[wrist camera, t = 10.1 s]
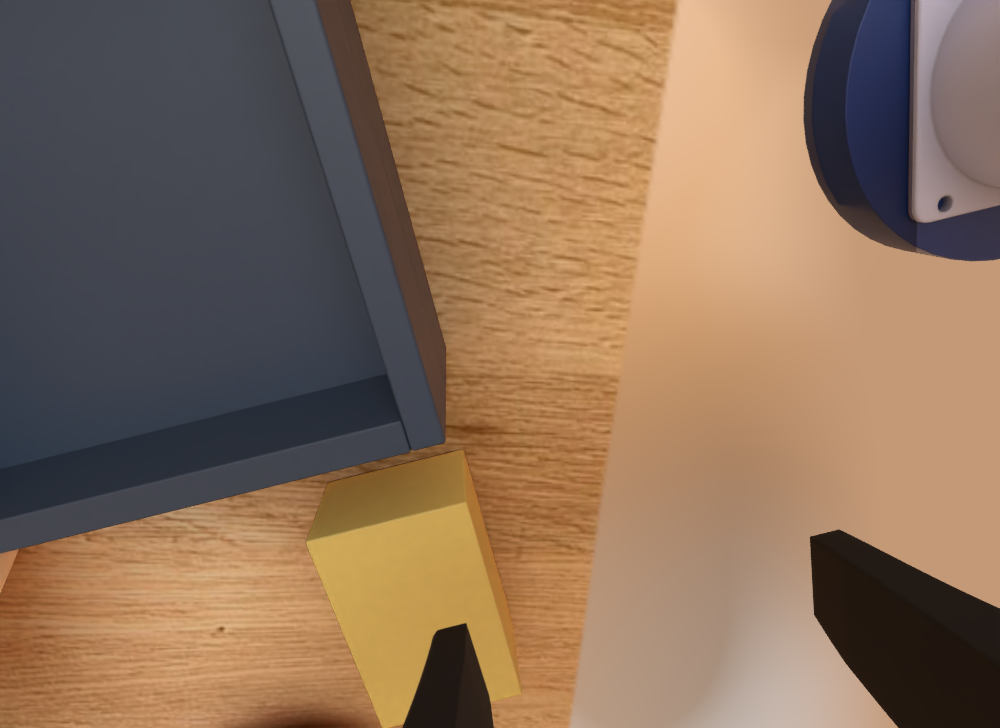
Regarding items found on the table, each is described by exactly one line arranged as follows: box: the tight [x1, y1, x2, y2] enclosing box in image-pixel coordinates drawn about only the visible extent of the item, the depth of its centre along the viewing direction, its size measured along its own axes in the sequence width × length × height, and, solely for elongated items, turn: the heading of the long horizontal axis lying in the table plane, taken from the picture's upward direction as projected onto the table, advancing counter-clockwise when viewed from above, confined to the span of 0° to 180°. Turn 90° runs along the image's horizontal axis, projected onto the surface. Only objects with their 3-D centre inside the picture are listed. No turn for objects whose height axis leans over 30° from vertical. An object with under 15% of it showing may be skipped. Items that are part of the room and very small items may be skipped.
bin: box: [0, 0, 446, 554], centre depth 14 cm, size 14×15×7 cm
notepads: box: [306, 450, 522, 728], centre depth 20 cm, size 5×8×4 cm, turn 13°
